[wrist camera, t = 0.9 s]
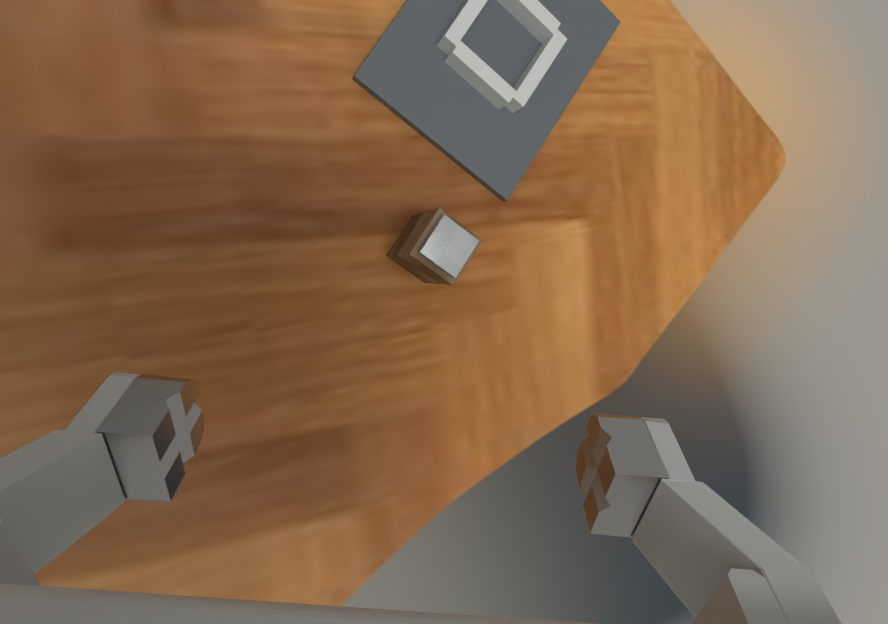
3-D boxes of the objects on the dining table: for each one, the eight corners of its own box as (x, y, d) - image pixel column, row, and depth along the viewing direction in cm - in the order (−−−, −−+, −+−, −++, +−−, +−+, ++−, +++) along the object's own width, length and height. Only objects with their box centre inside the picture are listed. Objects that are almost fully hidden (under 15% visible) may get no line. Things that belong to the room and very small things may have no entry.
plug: (386, 255, 45) (412, 253, 37) (412, 216, 45) (443, 206, 38) (424, 282, 46) (457, 285, 39) (449, 243, 46) (486, 239, 39)
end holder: (352, 79, 43) (358, 66, 40) (484, -110, 45) (499, -134, 42) (503, 201, 48) (517, 197, 45) (615, 25, 50) (634, 12, 47)
